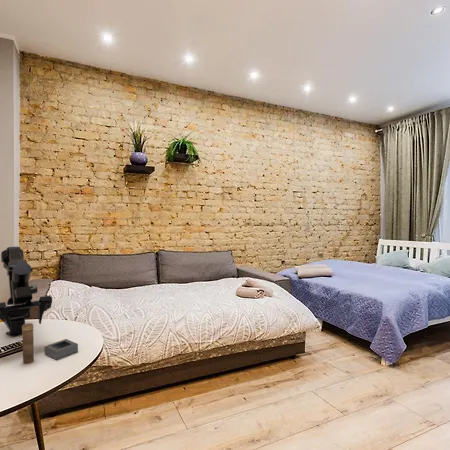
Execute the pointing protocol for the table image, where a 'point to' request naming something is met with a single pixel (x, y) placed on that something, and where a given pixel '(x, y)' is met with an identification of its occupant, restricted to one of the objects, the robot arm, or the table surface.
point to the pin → (28, 343)
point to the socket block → (61, 349)
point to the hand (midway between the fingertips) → (25, 326)
